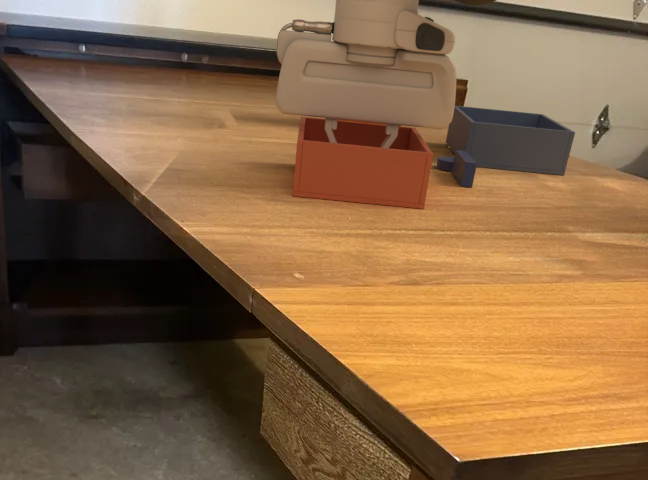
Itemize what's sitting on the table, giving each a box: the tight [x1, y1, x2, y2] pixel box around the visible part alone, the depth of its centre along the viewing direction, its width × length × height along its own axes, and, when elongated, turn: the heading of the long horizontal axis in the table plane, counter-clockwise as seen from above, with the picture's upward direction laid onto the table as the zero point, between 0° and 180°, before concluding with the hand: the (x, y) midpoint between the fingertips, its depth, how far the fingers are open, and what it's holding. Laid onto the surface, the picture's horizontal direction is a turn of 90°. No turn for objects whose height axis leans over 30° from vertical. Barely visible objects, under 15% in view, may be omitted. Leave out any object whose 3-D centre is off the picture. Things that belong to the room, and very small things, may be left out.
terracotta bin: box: [292, 116, 434, 210], centre depth 94 cm, size 14×19×6 cm
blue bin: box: [445, 105, 576, 176], centre depth 120 cm, size 14×19×6 cm
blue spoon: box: [436, 150, 477, 188], centre depth 106 cm, size 14×5×3 cm, turn 177°
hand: (356, 163), depth 97 cm, fingers open, 3 cm apart
